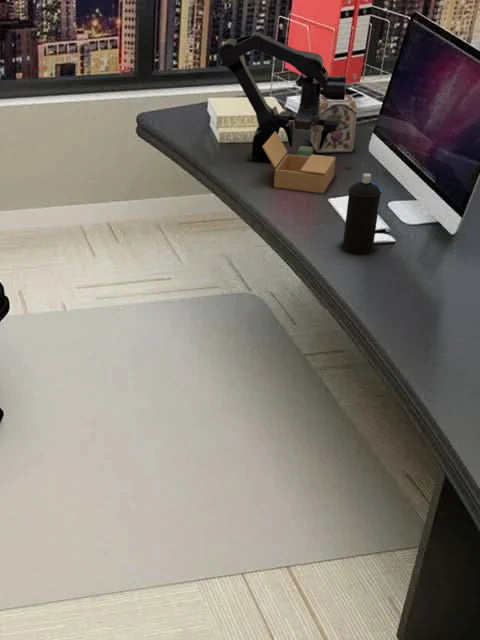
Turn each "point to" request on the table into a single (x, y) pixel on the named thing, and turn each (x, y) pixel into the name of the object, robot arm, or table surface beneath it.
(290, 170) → the carton
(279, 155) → the flap
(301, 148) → the block
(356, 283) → the table surface
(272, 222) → the table surface
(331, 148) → the decorative jar
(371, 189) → the aerosol can
